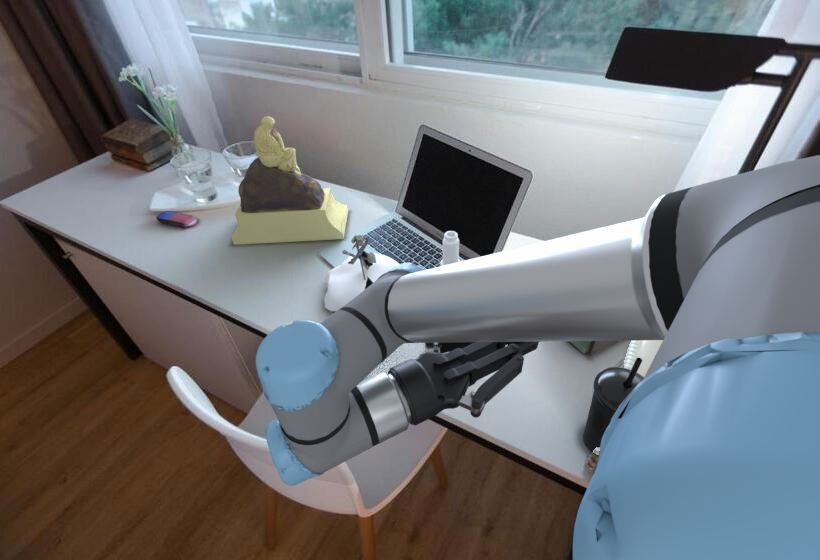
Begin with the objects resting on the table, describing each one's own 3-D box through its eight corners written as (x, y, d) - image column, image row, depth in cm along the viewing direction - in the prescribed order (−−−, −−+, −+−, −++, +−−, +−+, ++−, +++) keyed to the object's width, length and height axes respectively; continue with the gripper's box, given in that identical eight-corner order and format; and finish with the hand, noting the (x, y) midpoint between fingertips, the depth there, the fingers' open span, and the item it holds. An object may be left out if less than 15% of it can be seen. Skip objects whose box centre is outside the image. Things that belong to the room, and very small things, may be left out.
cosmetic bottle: (469, 319, 86) (474, 228, 72) (458, 341, 82) (461, 248, 68) (441, 311, 88) (441, 221, 74) (429, 331, 84) (426, 240, 70)
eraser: (199, 221, 119) (197, 215, 118) (189, 229, 116) (187, 223, 115) (167, 214, 122) (164, 209, 121) (156, 222, 119) (153, 217, 118)
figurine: (337, 253, 103) (323, 197, 91) (412, 258, 101) (409, 201, 89) (312, 319, 90) (292, 264, 78) (398, 327, 87) (392, 271, 75)
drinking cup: (627, 473, 62) (677, 393, 49) (572, 457, 64) (605, 377, 51) (626, 426, 67) (670, 343, 54) (575, 413, 70) (605, 330, 56)
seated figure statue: (348, 211, 119) (329, 100, 99) (343, 238, 109) (321, 121, 90) (247, 216, 120) (208, 107, 100) (233, 244, 110) (187, 129, 90)
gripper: (379, 378, 60) (516, 316, 67) (425, 458, 51) (577, 376, 58) (373, 342, 55) (522, 279, 62) (423, 424, 46) (590, 339, 53)
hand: (549, 326), depth 60 cm, fingers closed
